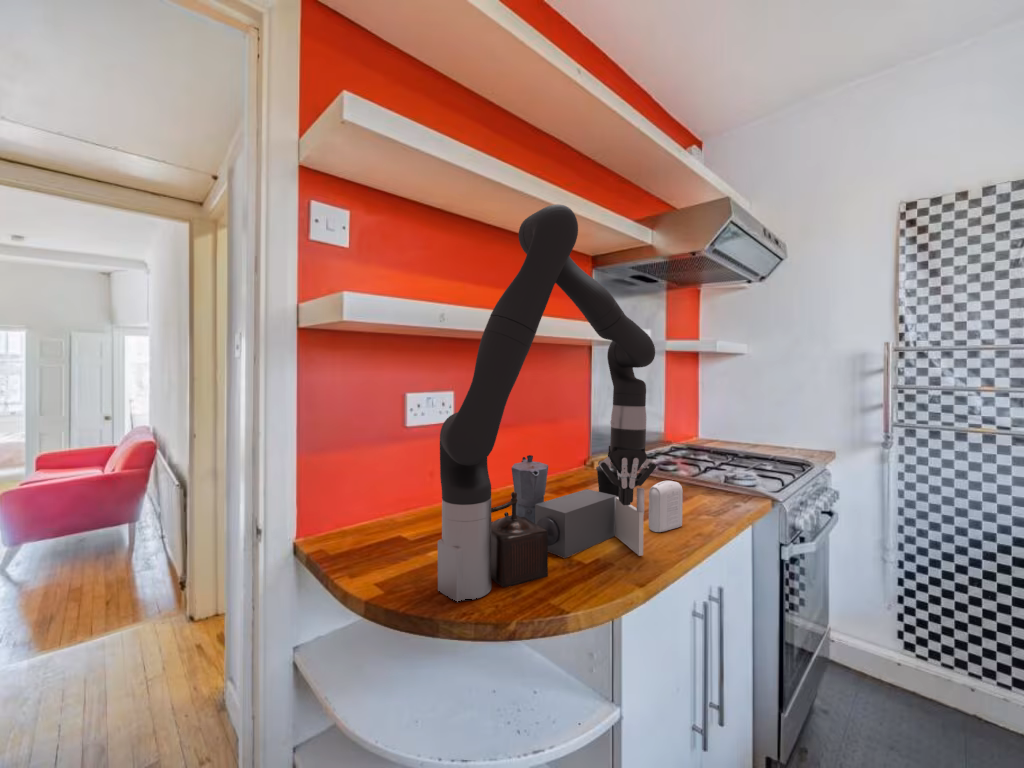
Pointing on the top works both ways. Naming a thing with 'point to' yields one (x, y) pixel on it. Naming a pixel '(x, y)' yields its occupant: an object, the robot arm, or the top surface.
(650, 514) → the photo printer
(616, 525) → the side door
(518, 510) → the moka pot
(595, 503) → the camera housing
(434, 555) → the top surface
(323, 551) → the top surface
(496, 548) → the coffee grinder
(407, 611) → the top surface
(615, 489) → the drinking cup
